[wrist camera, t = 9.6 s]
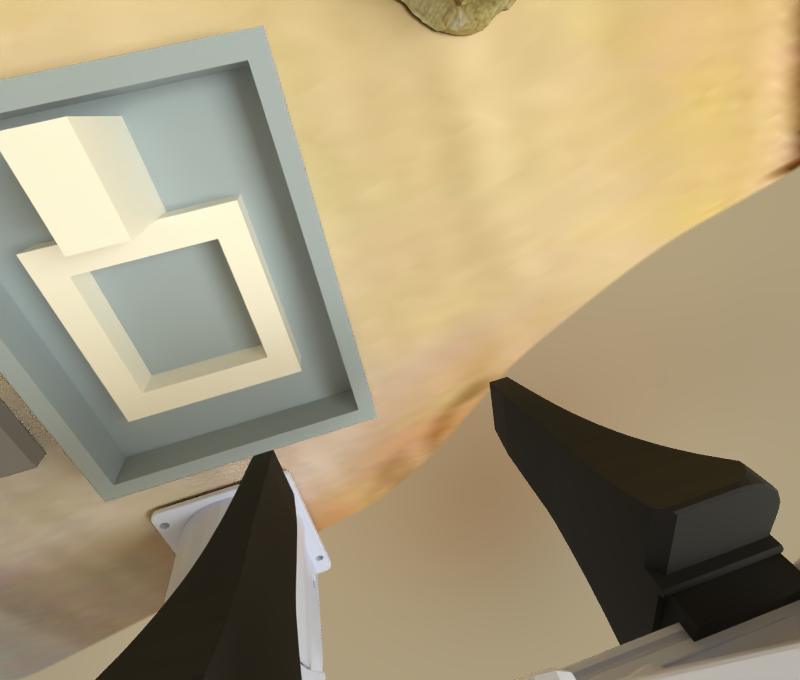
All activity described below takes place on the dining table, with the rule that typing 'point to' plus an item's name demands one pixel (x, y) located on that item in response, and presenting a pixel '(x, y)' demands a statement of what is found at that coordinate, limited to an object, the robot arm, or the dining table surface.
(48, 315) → the tray
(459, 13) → the ceramic model
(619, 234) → the dining table surface
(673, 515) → the robot arm
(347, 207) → the dining table surface
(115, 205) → the square frame with tab
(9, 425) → the plate
